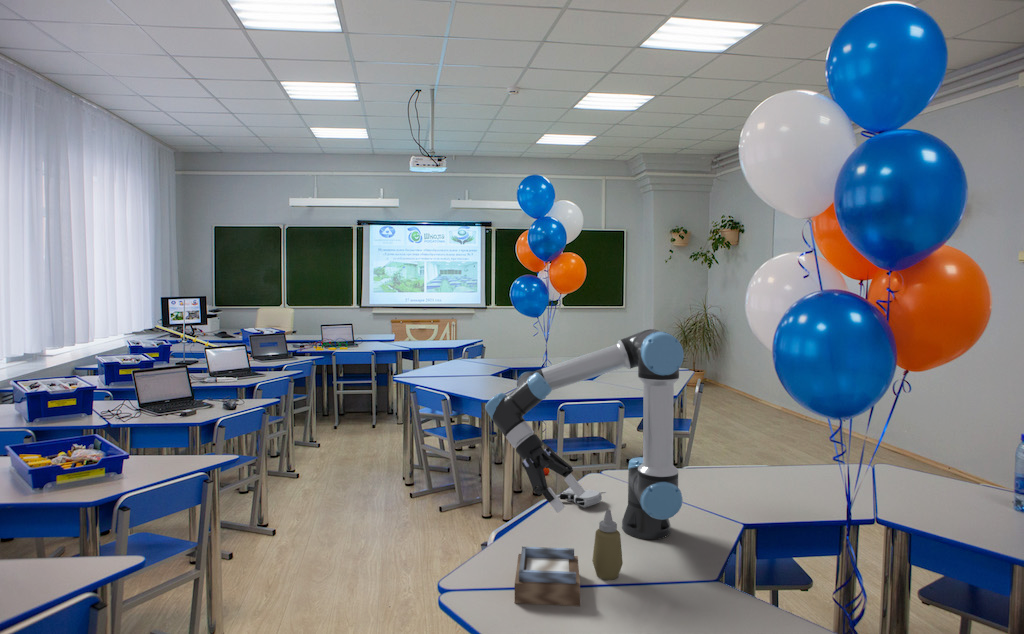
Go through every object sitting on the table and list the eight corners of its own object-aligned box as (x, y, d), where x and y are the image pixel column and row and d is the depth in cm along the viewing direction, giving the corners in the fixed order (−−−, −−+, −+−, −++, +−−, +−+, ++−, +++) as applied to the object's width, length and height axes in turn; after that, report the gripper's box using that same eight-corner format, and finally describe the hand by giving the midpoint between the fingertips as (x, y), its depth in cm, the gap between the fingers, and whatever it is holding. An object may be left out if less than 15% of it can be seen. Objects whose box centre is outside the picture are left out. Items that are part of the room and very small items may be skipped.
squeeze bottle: (615, 585, 155) (616, 518, 154) (587, 577, 159) (588, 511, 158) (626, 573, 162) (628, 508, 161) (599, 565, 166) (600, 502, 165)
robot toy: (553, 504, 214) (588, 512, 204) (553, 492, 214) (587, 499, 204) (573, 495, 223) (607, 503, 213) (573, 483, 223) (607, 490, 213)
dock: (577, 574, 161) (577, 547, 160) (579, 606, 145) (580, 576, 145) (518, 571, 162) (518, 544, 162) (514, 603, 146) (514, 573, 146)
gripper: (536, 439, 184) (581, 495, 177) (494, 459, 162) (542, 525, 155) (552, 424, 181) (597, 481, 174) (511, 443, 159) (561, 509, 152)
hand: (572, 502), depth 165 cm, fingers open, 13 cm apart
